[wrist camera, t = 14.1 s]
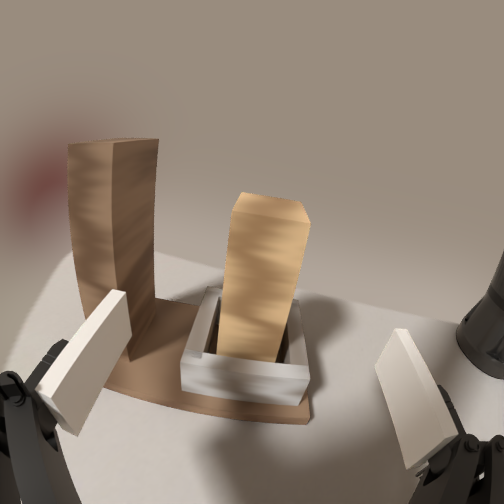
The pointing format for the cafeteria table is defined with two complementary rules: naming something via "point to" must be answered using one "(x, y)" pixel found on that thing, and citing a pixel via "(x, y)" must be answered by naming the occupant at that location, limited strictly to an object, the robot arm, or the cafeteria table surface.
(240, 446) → the cafeteria table surface
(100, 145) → the wooden peg insertion stand
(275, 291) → the block
